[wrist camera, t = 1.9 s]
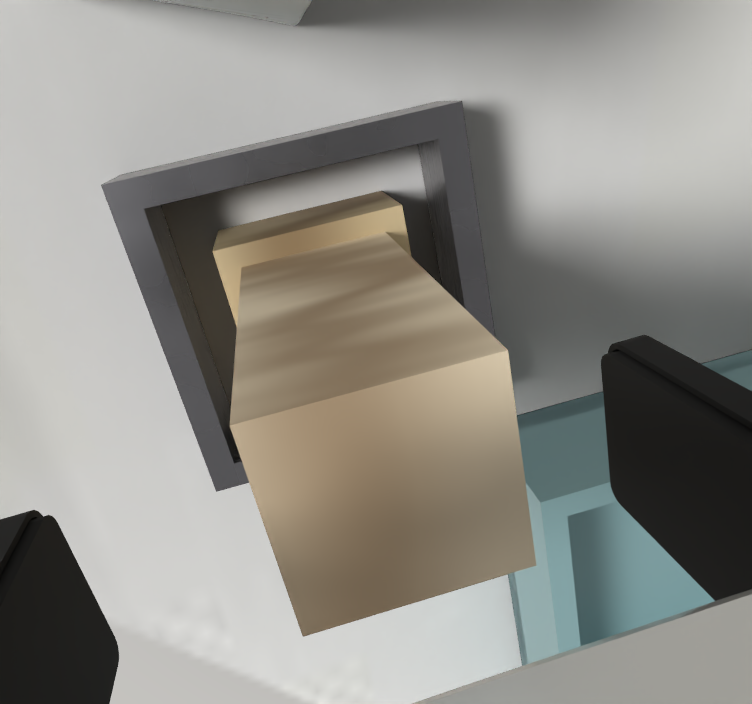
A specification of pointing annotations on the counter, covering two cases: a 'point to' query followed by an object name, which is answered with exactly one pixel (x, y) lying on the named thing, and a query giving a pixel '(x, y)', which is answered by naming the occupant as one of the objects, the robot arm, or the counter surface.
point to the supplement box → (254, 8)
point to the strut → (369, 415)
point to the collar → (269, 160)
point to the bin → (590, 535)
